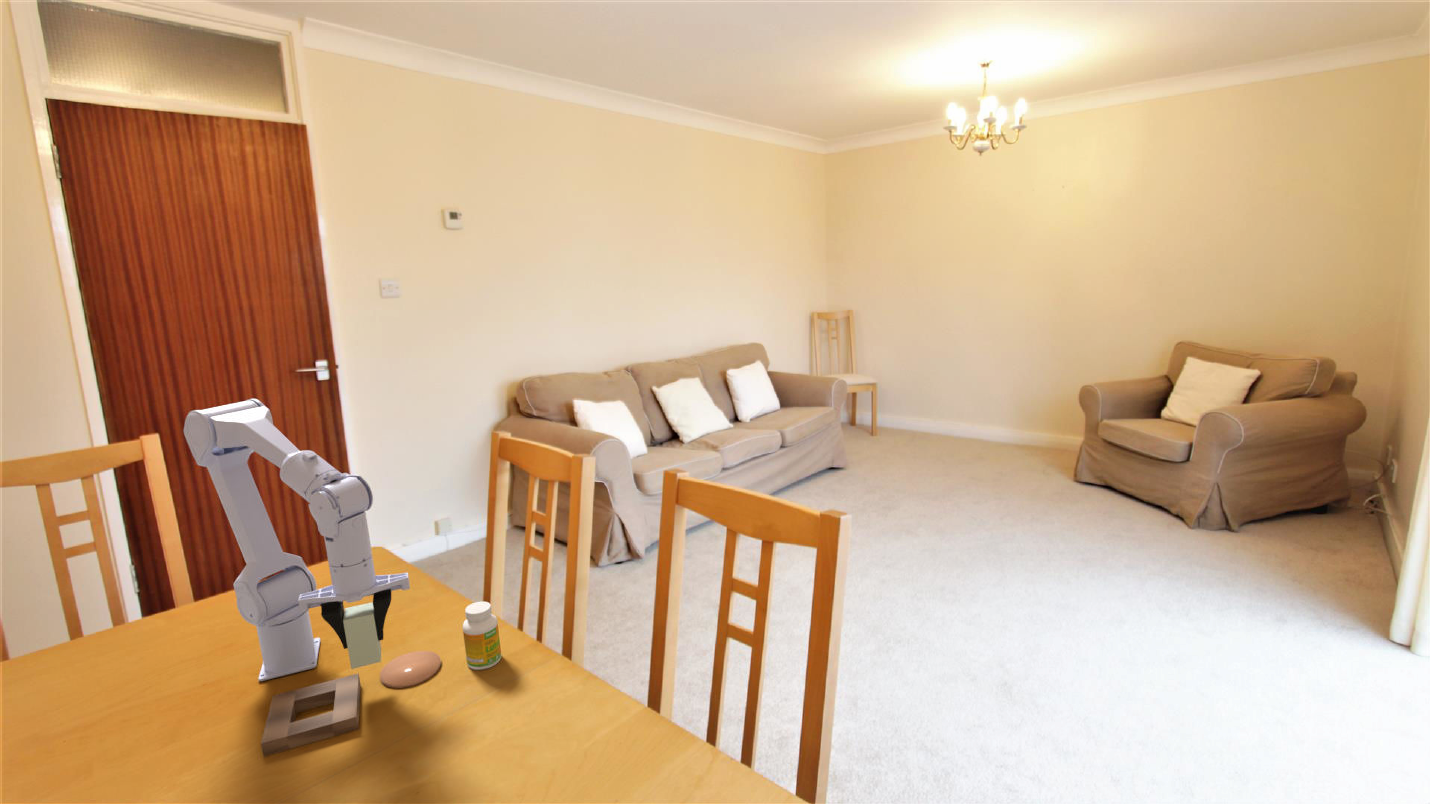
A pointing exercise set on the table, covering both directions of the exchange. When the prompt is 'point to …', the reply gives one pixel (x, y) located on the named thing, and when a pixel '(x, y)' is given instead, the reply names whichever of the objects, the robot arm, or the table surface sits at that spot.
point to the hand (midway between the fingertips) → (364, 641)
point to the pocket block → (292, 733)
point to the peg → (362, 635)
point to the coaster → (410, 669)
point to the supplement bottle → (481, 636)
